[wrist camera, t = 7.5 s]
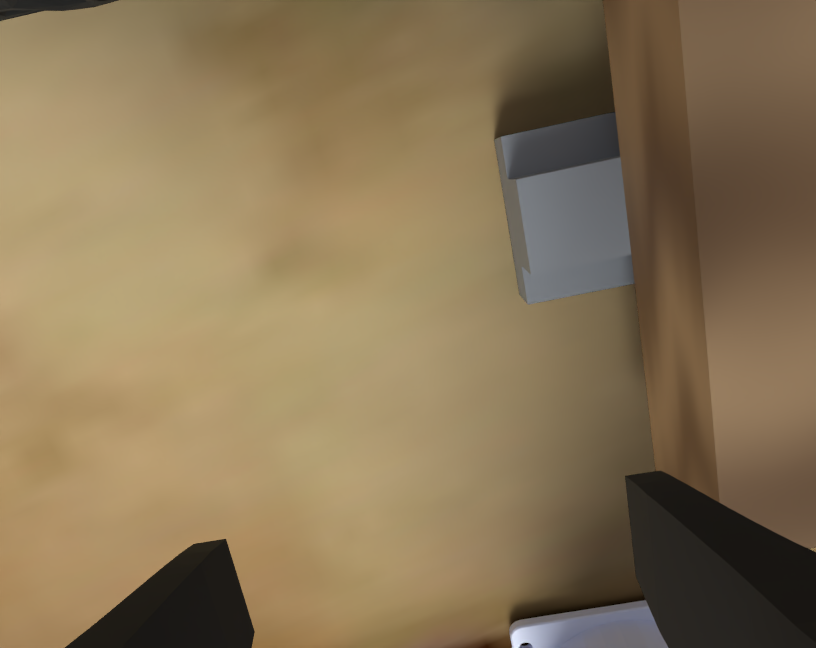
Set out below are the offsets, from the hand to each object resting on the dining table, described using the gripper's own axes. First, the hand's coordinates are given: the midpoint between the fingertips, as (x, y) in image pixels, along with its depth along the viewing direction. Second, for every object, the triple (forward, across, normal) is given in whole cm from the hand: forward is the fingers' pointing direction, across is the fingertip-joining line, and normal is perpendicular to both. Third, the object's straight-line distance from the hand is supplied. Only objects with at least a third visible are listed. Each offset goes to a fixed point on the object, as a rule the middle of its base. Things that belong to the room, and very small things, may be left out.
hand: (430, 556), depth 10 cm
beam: (+7, -8, -5) cm, 12 cm away
